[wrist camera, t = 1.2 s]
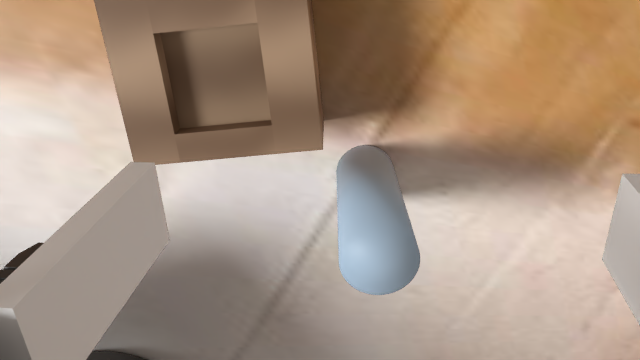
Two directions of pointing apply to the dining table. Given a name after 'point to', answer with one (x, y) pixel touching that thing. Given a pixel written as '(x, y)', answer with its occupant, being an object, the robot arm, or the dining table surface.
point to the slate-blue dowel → (373, 224)
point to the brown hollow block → (214, 77)
